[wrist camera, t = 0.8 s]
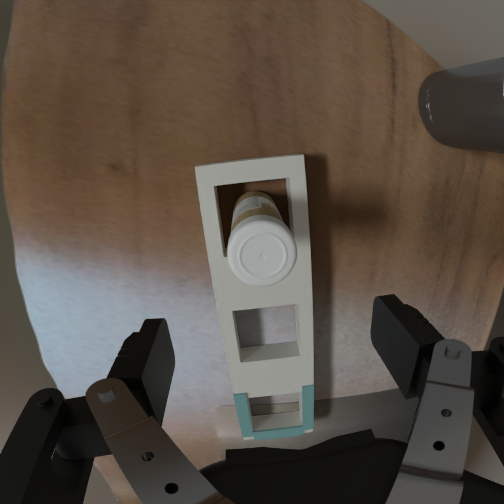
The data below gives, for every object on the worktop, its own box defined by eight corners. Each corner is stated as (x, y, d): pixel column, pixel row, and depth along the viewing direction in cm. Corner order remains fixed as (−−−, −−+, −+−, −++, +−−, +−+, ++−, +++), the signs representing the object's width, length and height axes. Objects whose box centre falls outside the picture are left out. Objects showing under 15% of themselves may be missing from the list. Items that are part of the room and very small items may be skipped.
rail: (298, 153, 31) (304, 154, 28) (309, 417, 44) (313, 433, 41) (198, 164, 31) (194, 167, 28) (243, 425, 44) (243, 441, 41)
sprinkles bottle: (283, 221, 34) (309, 271, 21) (244, 240, 34) (246, 299, 22) (265, 182, 32) (280, 208, 20) (224, 201, 33) (213, 240, 20)
